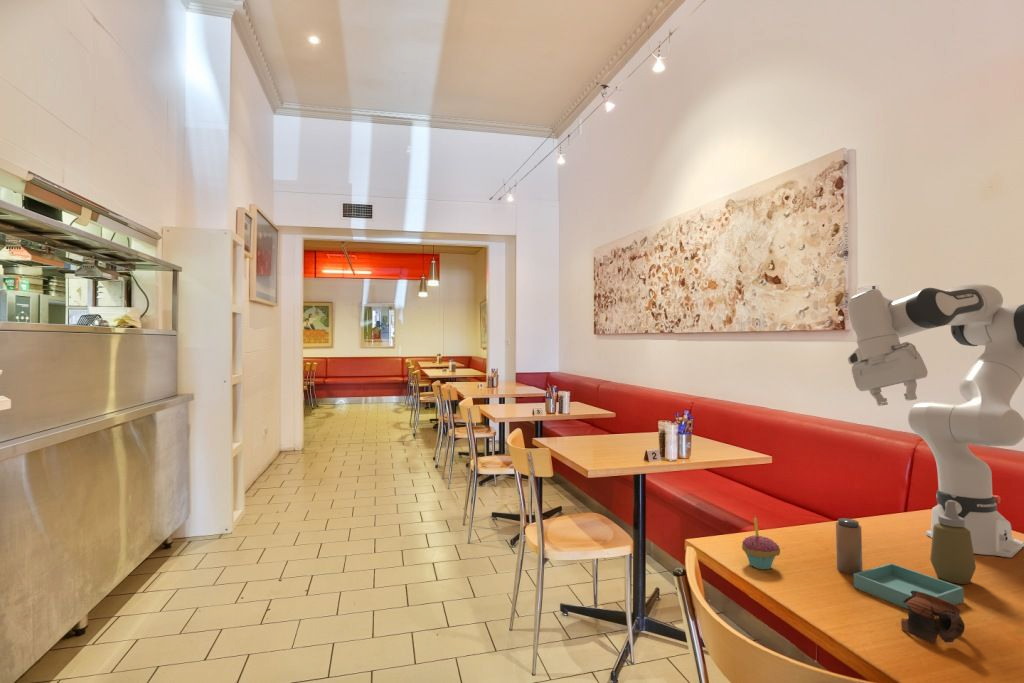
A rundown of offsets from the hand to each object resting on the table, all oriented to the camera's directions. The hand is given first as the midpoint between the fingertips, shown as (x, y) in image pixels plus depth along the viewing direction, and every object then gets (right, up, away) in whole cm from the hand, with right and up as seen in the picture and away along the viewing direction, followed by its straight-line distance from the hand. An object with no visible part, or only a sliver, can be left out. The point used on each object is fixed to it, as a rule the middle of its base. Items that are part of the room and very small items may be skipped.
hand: (896, 402), depth 128 cm
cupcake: (-36, -41, -2) cm, 54 cm away
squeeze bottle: (+5, -40, -10) cm, 42 cm away
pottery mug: (-19, -40, -34) cm, 55 cm away
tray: (-11, -40, -17) cm, 45 cm away
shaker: (-16, -40, -5) cm, 43 cm away
